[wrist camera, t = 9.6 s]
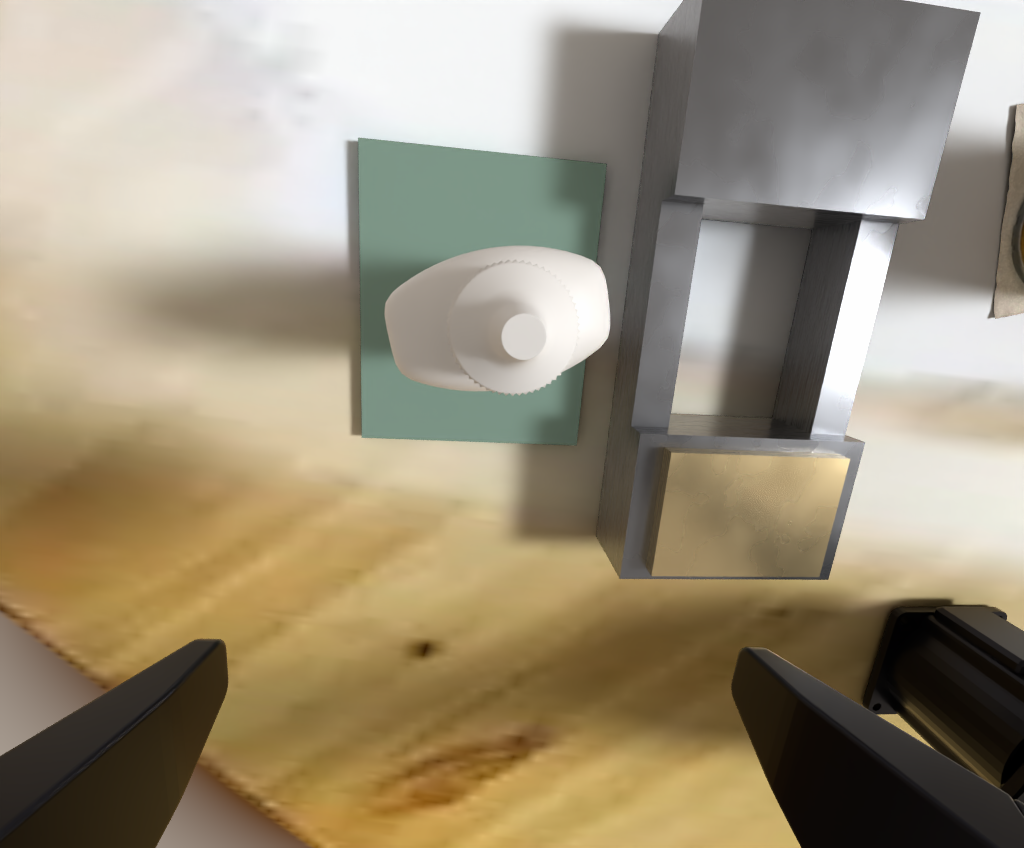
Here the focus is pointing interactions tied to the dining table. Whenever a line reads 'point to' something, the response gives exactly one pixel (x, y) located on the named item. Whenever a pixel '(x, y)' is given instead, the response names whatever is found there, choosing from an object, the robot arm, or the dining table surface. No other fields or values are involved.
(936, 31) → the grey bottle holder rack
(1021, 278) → the condiment
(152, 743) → the robot arm
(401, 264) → the mat
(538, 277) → the eye dropper bottle
